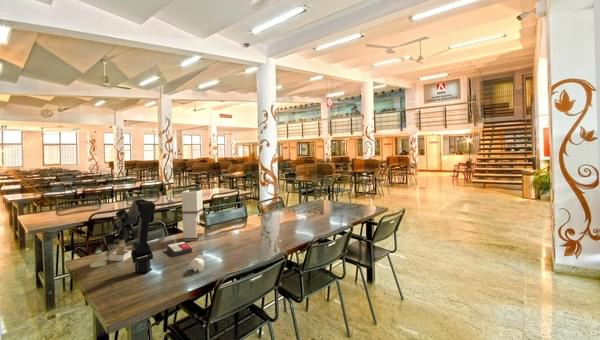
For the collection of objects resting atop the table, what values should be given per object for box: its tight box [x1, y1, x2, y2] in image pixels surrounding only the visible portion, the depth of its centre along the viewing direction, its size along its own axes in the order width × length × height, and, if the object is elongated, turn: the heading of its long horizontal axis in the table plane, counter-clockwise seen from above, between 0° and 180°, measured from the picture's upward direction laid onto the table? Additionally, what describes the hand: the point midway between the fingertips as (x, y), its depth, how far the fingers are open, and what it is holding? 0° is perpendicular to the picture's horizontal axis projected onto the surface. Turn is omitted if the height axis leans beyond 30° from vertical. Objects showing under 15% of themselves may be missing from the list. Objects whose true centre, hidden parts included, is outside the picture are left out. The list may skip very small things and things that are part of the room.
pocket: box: [108, 249, 132, 262], centre depth 179 cm, size 9×9×3 cm
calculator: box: [166, 241, 193, 258], centre depth 189 cm, size 11×4×15 cm
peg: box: [115, 233, 127, 255], centre depth 179 cm, size 5×5×13 cm
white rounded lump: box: [187, 254, 206, 273], centre depth 159 cm, size 8×10×7 cm
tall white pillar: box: [181, 189, 205, 242], centre depth 216 cm, size 11×11×35 cm
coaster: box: [89, 260, 108, 268], centre depth 169 cm, size 8×8×1 cm
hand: (119, 244), depth 180 cm, fingers closed on peg, 5 cm apart
